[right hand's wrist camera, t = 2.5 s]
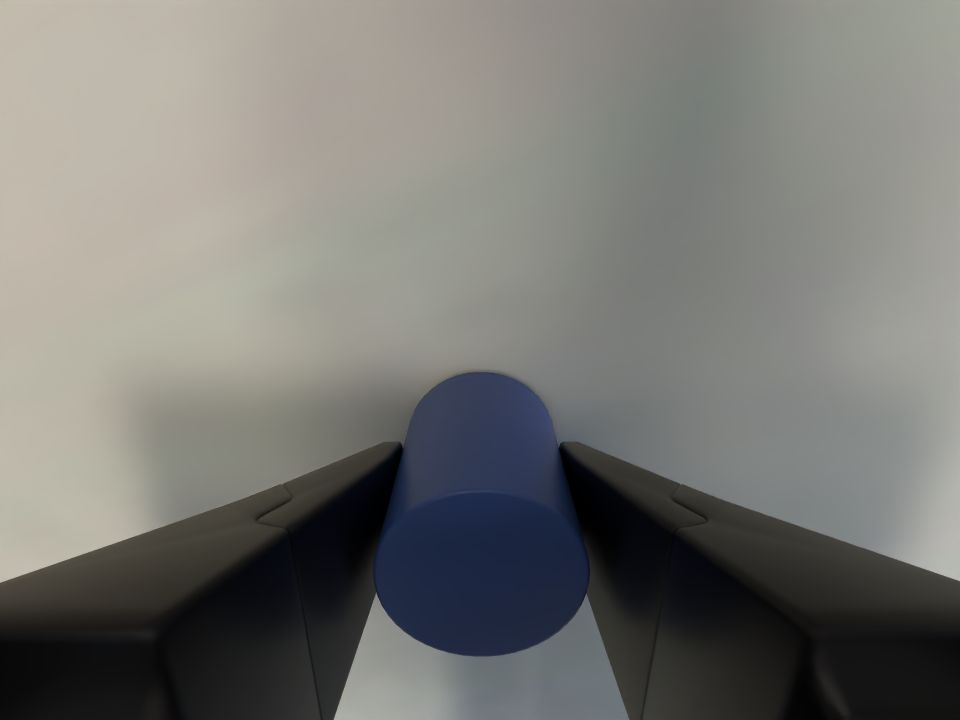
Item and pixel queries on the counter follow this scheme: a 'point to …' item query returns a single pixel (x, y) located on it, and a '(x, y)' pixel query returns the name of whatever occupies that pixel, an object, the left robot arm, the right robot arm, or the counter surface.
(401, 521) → the canister
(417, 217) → the counter surface
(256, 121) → the counter surface
